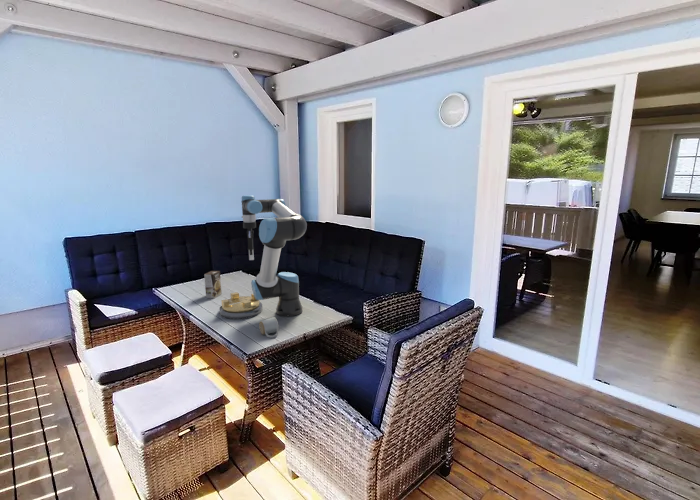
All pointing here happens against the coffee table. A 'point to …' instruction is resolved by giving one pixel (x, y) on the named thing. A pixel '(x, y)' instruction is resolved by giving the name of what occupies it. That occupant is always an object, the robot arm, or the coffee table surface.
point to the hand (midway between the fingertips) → (251, 259)
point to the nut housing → (241, 315)
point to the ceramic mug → (269, 327)
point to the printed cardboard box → (213, 284)
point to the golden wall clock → (239, 303)
